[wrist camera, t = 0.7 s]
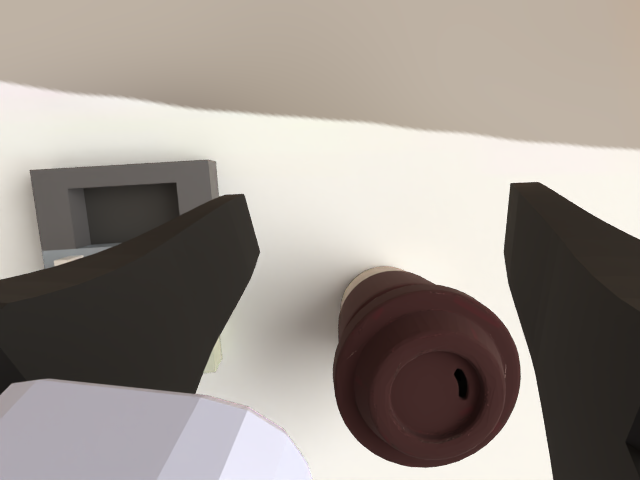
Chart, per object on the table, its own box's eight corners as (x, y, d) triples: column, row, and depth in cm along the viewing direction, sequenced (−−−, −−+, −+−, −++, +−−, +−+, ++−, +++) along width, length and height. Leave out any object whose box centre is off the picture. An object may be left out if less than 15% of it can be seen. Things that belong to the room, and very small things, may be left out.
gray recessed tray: (227, 289, 34) (221, 297, 32) (69, 299, 34) (50, 308, 31) (215, 161, 33) (208, 159, 30) (51, 171, 33) (29, 170, 30)
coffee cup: (308, 342, 35) (308, 457, 20) (348, 233, 34) (379, 270, 19) (415, 377, 36) (492, 514, 21) (458, 271, 35) (571, 337, 20)
